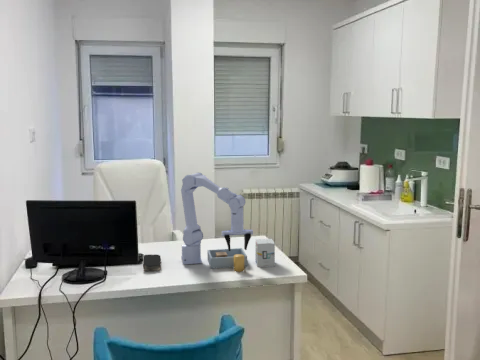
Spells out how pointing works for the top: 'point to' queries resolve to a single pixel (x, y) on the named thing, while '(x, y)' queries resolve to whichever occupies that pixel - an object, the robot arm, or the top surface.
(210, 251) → the tote
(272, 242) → the ink box
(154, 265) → the black sponge
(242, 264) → the tan rounded piece
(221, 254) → the walnut cube
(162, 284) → the top surface
